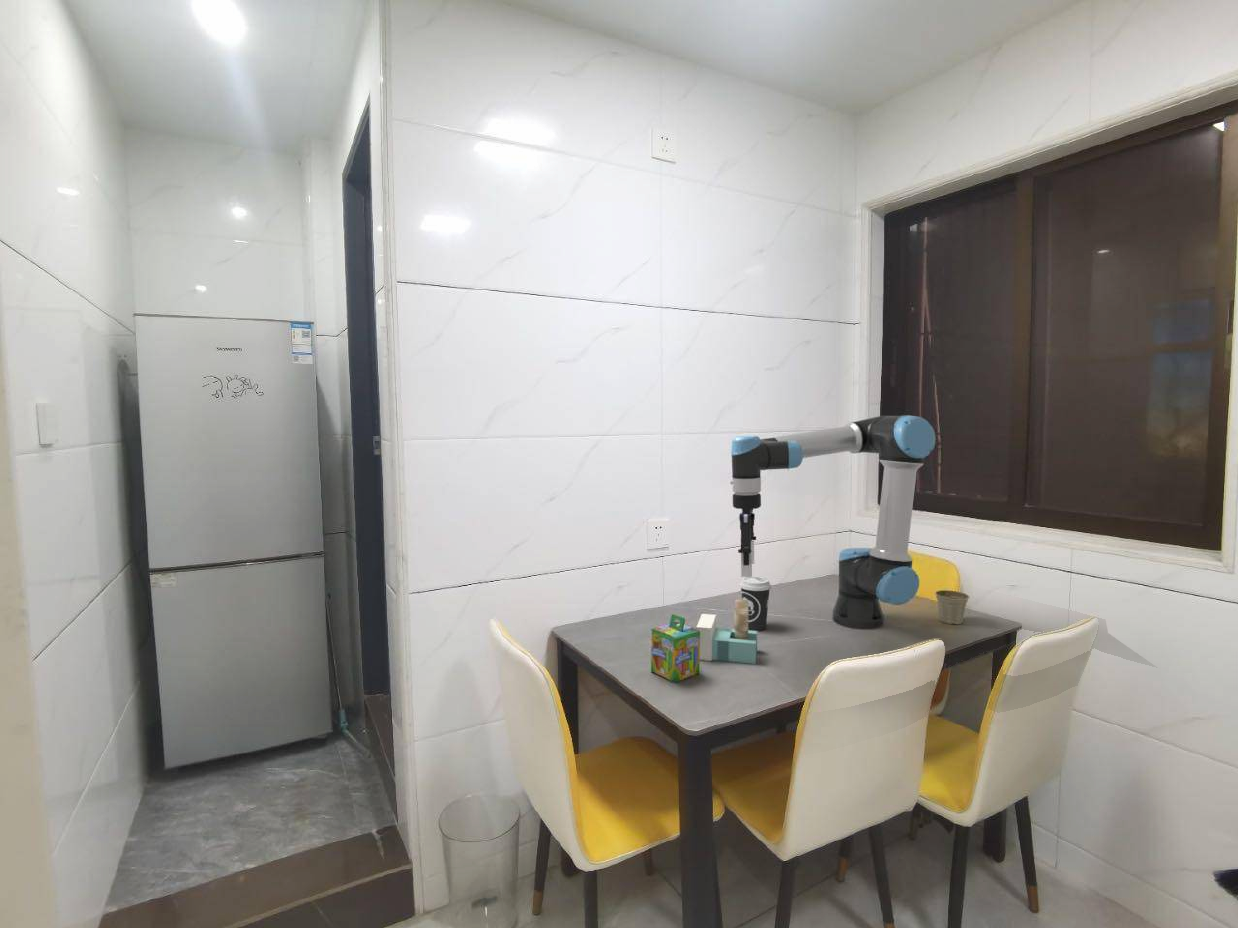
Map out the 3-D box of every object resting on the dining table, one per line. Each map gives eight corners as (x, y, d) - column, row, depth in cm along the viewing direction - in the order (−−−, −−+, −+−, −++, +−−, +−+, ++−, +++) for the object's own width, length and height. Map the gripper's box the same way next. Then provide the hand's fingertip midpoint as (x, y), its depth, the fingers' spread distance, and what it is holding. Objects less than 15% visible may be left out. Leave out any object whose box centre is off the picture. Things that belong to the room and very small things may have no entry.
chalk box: (650, 672, 157) (649, 616, 155) (676, 662, 162) (675, 608, 161) (675, 684, 149) (674, 625, 148) (701, 673, 155) (701, 617, 154)
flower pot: (970, 619, 191) (971, 593, 190) (966, 628, 183) (967, 600, 183) (937, 614, 197) (937, 588, 196) (931, 622, 189) (932, 595, 188)
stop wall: (716, 645, 173) (716, 614, 173) (711, 660, 163) (711, 628, 162) (702, 644, 175) (701, 613, 174) (696, 659, 164) (696, 626, 163)
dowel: (748, 653, 168) (748, 599, 167) (747, 658, 164) (748, 603, 163) (734, 652, 168) (735, 599, 167) (734, 657, 165) (734, 602, 164)
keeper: (757, 650, 170) (757, 631, 169) (755, 663, 161) (755, 643, 160) (715, 646, 173) (715, 627, 172) (711, 659, 164) (711, 639, 163)
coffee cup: (771, 633, 182) (772, 584, 181) (739, 631, 184) (739, 583, 183) (770, 622, 191) (770, 576, 190) (739, 621, 193) (739, 574, 192)
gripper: (735, 486, 178) (737, 558, 180) (728, 500, 154) (730, 582, 156) (762, 486, 176) (763, 558, 178) (759, 500, 152) (760, 583, 154)
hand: (748, 569), depth 167 cm, fingers open, 13 cm apart
